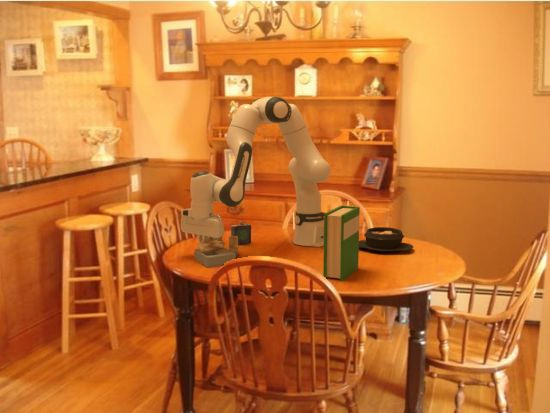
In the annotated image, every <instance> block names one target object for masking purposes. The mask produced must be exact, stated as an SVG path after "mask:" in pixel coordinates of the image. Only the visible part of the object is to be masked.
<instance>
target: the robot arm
mask: <svg viewBox="0 0 550 413" xmlns="http://www.w3.org/2000/svg"><path fill="white" fill-rule="evenodd" d="M261 124H268V125H271V124H277V125H278V127H279V129H280V132H281V134H282V138H283V140H284V143H285V146H286V147H287V150H288V151H289V153H290V154H291V155H292V156H293V157H292V158H291V159H290V161H289V163H288V171H289V173H290V175H291V177H292V181H293V184H294V189H295V195H296V197H295V199H296V201H295V202H296V203H295V204H296V205H295V206H296V211H295V215H294V216H295V220H294V221H295V228H294V229H295V230H294V235H293V241H292V243H293V244H295V245H297V246H303V247H316V248H321V247H324V213H326V212H324V211H322V193H321V192H320V190H319V188H318V184H319V183H323V182H326V181H327V180H328V179H330V176H331V171H332V169H331V165H330V164H329V162H327V160H325V159H324V157H323V156H322V154H321V153H320V151H319V150H318V149H317V147H316V145H315V143H314V141H313V139H312V137H311V134H310V132H309V129H308V127H307V124H306V121H305V119H304V116H303V114H302V113H301V111H300V110H299V107H298V106H297V105H296V104H293V103H288V101H287V100H285V99H284V98H282V97H280V96H265V97H258V98H256V99H254V100H253V101H251V102H250V104H248V103H244V104H241V105H240V106H239V107H238V108H237V110H236V112H235V113H234V115H233V117H232V119H231V121H230V124H229V126H228V129H227V132H226V139H225V141H226V144H227V147H228V148H229V149H230V150H231V151H232V153H233V155H234V162H233V164H232V170H231V174H230V177H229V178H228V179H225V178H221V177H219V176H217V175H214V174H213V173H211V172H210V171H208V170H207V171H206V170H203V171H198V172H195V173H194V174H193V175H192V176H191V178H190V188H189V189H190V197H191V201H190V207H188V208H185V209H182V210H181V211H180V212H181V218H180V229H181V231H182V232H183V233H185V234H191V235H196V238H197V240H198V244H201V243H205V242H206V240H207V238H208V237H214V238H221V237H222V238H223V237H224V235H225V228H224V222H223V220H224V219H223V217H222V216H221V215H220V214H216V213H214V202H217V203H221V204H223V205H225V206H227V207H229V208H232V207H233V208H234V207H237V206H239V205H240V204H242V202H243V200H244V199H245V194H246V181H247V177H248V174H249V169H250V165H251V160H252V155H253V142H254V139H255V136H256V133H257V130H258V128H259V126H260V125H261ZM317 183H318V184H317Z"/></svg>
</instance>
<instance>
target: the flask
mask: <svg viewBox="0 0 550 413" xmlns="http://www.w3.org/2000/svg"><path fill="white" fill-rule="evenodd" d="M230 236H237V237H238V246H245V245H247V246H248V245H252V225H251V224H250V223H244V222H242V220H239V221H238V224H233V225H230Z"/></svg>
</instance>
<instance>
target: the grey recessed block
mask: <svg viewBox="0 0 550 413" xmlns="http://www.w3.org/2000/svg"><path fill="white" fill-rule="evenodd" d="M193 252H194V260H195V261H196V262H198V263H200V264H201V265H203V266H204V267H206V268H207V269H208V268H216V267H221V265H222V266H224V265H223V264H224V263H226V262H227V261H230V260H232V259H236V254H235V253H233V252H232V251H230V250H229V248H227V247H225V246H224V247H223V248H219V249H215V250H210V251H206V252H201V251H198V248H197V249H194V251H193Z"/></svg>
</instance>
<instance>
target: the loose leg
mask: <svg viewBox="0 0 550 413" xmlns="http://www.w3.org/2000/svg"><path fill="white" fill-rule="evenodd" d="M228 250H230V251H232V252H233V253H235V254H236V257H238V256H239V245H238V237H237V236H231V235H229V236H228Z"/></svg>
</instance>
